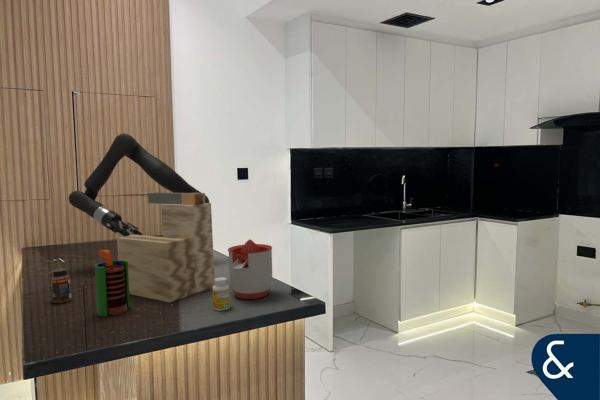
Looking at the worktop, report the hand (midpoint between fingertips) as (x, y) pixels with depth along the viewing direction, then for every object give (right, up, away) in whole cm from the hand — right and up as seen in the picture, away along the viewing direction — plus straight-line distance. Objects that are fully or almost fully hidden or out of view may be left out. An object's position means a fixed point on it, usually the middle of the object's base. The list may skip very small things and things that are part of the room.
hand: (135, 235), depth 189 cm
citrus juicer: (+53, -19, -32) cm, 64 cm away
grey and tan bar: (+22, +14, -18) cm, 31 cm away
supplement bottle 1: (-14, -21, -32) cm, 40 cm away
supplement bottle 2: (+45, -20, -44) cm, 66 cm away
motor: (+9, -21, -44) cm, 50 cm away
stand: (+20, -19, -20) cm, 34 cm away
